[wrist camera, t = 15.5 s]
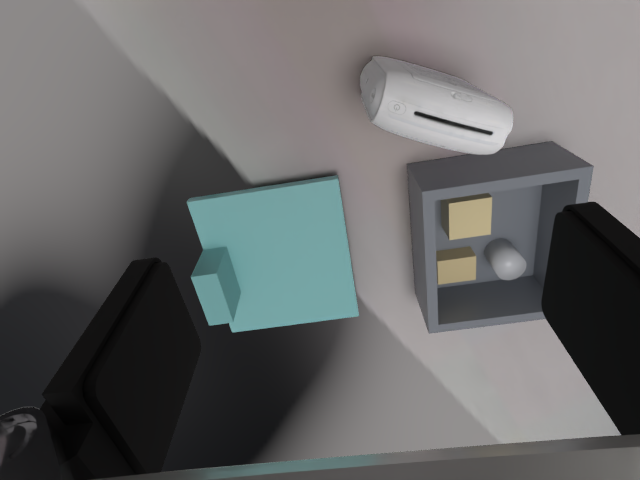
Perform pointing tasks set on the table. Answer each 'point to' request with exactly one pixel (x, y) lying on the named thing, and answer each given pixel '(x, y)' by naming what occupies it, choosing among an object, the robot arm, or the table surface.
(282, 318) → the lid
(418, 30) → the table surface
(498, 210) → the tub
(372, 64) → the photo printer
